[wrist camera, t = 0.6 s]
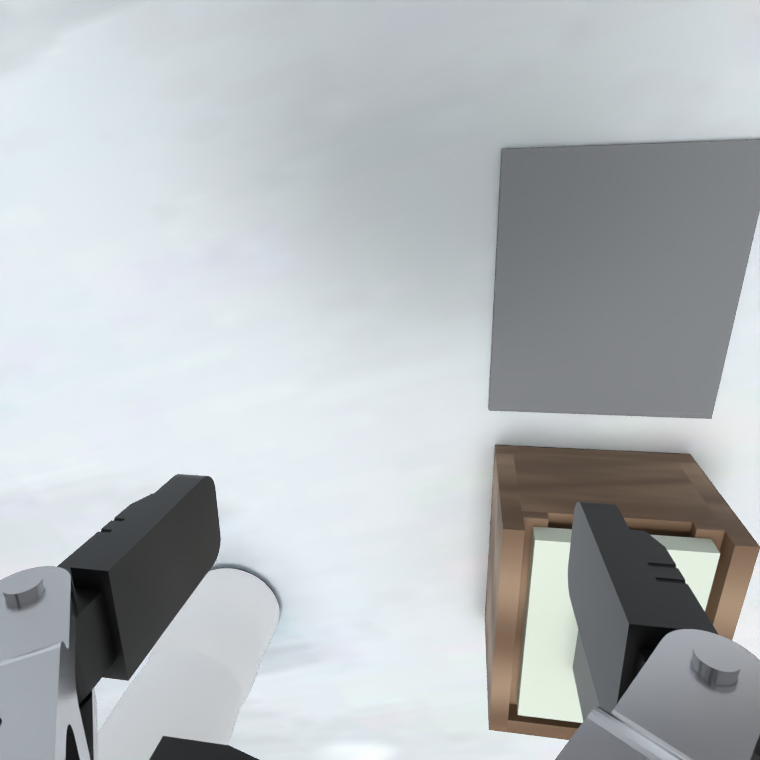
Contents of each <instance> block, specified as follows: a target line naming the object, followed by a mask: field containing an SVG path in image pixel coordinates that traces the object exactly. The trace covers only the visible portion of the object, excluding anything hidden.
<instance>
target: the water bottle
mask: <svg viewBox="0 0 760 760" xmlns="http://www.w3.org/2000/svg"><path fill="white" fill-rule="evenodd" d="M279 617H280V610H279V605H278V602H277V599H276V597H275V595H274V594H273V592H272V591H271V589H270V588H269V587H268V586H267V585H266V584H265V583H264V582H263V581H261V580H260V579H259V578H257V577H256V576H254V575H252V574H250V573H248V572H245V571H242V570H238V569H232V568H221V569H215V570H211V571H209V572H208V573H207V574H206V575H205V577H204V578H203V580H202V581H201V582H200V584H199V585H198V586H197V588H196V589H195V590H194V592H193V593H192V595H191V596H190V597H189V599H188V600H187V601H186V603H185V604H184V605H183V607H182V608H181V610H180V611H179V612H178V614H177V615H176V616H175V618H174V619H173V620H172V622H171V623H170V625H169V626H168V627H167V629H166V630H165V631H164V633H163V634H162V635H161V637H160V638H159V639H158V641H157V642H156V644H155V645H154V647H153V649H152V651H151V653H150V656H149V658H148V661H147V663H146V665H145V666H144V667H143V668H142V670H141V671H140V672H139V673H138V675H137V676H136V677H135V679H134V680H133V681H132V683H131V684H130V686H129V687H128V688H127V690H126V691H125V693H124V694H123V696H122V697H121V698H120V700H119V701H118V703H117V704H116V706H115V707H114V709H113V710H112V712H111V713H110V715H109V716H108V718H107V719H106V721H105V722H104V724H103V725H102V727H101V729H100V730H99V732H98V733H97V735H98V760H149V759H150V757H151V756H152V754H153V752H154V751H155V749H156V747H157V745H158V744H159V742H160V740H161V739H162V737H163V736H168V737H175V738H182V739H189V740H196V741H202V742H209V743H216V744H223V745H228V743H229V740H230V737H231V734H232V732H233V729H234V726H235V723H236V719H237V716H238V713H239V709H240V707H241V706H242V704H243V703H244V701H245V700H246V698H247V696H248V694H249V692H250V690H251V688H252V686H253V683H254V681H255V678H256V676H257V673H258V669H259V666H260V661H261V658H262V657H263V655H264V653H265V652H266V650H267V648H268V646H269V644H270V642H271V640H272V638H273V635H274V633H275V631H276V628H277V625H278V622H279Z"/></svg>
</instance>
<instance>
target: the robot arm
mask: <svg viewBox="0 0 760 760" xmlns="http://www.w3.org/2000/svg"><path fill="white" fill-rule="evenodd" d="M219 548H220V528H219V519H218V509H217V500H216V491H215V485H214V481H213V479H212V478H211V477H209V476H198V475H183V474H177V475H175V476H174V477H173V478H171V479H170V480H169V481H168V482H167V483H166V484H165V485H163V486H162V487H161V488H160V489H159V490H158V491H157V492H155V493H154V494H151V495H149V496H147V497H145V498H143V499H141V500H139V501H137V502H135V503H133V504H131V505H129V506H128V507H127V508H126V509H125V510H123V511H122V512H121V513H120V514H119V515H117V516H116V517H115V519H114V521H110V522H109V523H108V524H107V525H106V526H104V527H103V528H102V530H101V532H97V533H96V534H95V535H94V536H93V537H91V538H90V539H89V540H88V541H87V542H86V543H84V544H83V545H82V546H81V547H80V548H78V549H77V550H76V551H75V552H74V553H73V554H71V555H70V556H69V557H68V558H67V559H65V560H64V561H63V562H62V563H61V564H60V565H58V566H57V567H55V566H43V567H36V568H31V569H27V570H24V571H20V572H18V573H15V574H12V575H10V576H8V577H6V578H4V579H2V580H0V760H98V735H97V703H96V696H95V691H94V687H95V685H96V684H97V683H98V682H99V680H100V679H101V678H102V677H105V678H113V679H120V680H129V679H130V678H131V676H132V675H133V674H134V672H135V671H136V669H137V668H138V667H139V665H140V664H141V663H142V661H143V660H144V659H145V657H146V656H147V654H148V653H149V652H150V650H151V649H152V648H153V646H154V645H155V644H156V642H157V641H158V639H159V638H160V637H161V635H162V634H163V633H164V631H165V630H166V629H167V627H168V626H169V625H170V623H171V622H172V620H173V619H174V618H175V616H176V615H177V614H178V612H179V611H180V610H181V608H182V607H183V605H184V604H185V603H186V601H187V600H188V599H189V597H190V596H191V595H192V593H193V592H194V590H195V589H196V588H197V586H198V585H199V584H200V582H201V581H202V580H203V578H204V577H205V575H206V574H207V573H208V571H209V570H210V569H211V567H212V566H213V564H214V563H215V561H216V559H217V556H218V553H219ZM568 589H569V596H570V600H571V604H572V608H573V611H574V615H575V619H576V622H577V626H578V629H579V633H580V637H581V640H582V644H583V648H584V651H585V655H586V659H587V662H588V666H589V669H590V673H591V677H592V680H593V684H594V688H595V691H596V695H597V699H598V702H599V707H596V708H595V709H593V710H592V711H591V712H590V713H589V715H588V716H587V717H586V719H585V720H584V721H583V723H582V724H581V725H580V727H579V728H578V729H577V731H576V732H575V733H574V735H573V736H572V738H571V739H570V740H569V742H568V743H567V744H566V746H565V747H564V748H563V750H562V751H561V752H560V754H559V755H558V757H557V758H556V759H555V760H760V660H759V659H758V658H757V657H756V656H755V655H753V654H752V653H751V652H749V651H748V650H747V649H745V648H744V647H742V646H741V645H739V644H737V643H735V642H733V641H731V640H730V639H727V638H725V637H723V636H720V635H719V634H718V633H717V631H716V629H715V628H714V626H713V625H712V623H711V621H710V620H709V618H708V616H707V615H706V613H705V611H704V610H703V608H702V606H701V605H700V603H699V602H698V600H697V598H696V597H695V595H694V593H693V592H692V590H691V588H690V587H689V585H688V584H686V583H685V579H684V577H683V575H682V574H681V572H680V570H679V569H678V568H676V564H675V562H674V561H673V559H672V557H671V556H670V554H669V552H668V551H667V549H666V547H665V546H663V545H662V544H661V543H660V542H658V541H657V540H656V539H655V538H653V537H652V536H651V535H649V534H648V533H647V532H646V531H642V530H630V529H629V527H628V525H627V523H626V522H625V520H624V518H623V516H622V514H621V512H620V510H619V508H618V507H617V505H616V504H606V503H591V502H577V503H576V505H575V509H574V516H573V525H572V534H571V544H570V553H569V562H568ZM149 760H259V759H257V758H254V757H252V756H250V755H248V754H246V753H244V752H242V751H239V750H237V749H235V748H233V747H231V746H229V745H223V744H216V743H209V742H202V741H196V740H189V739H182V738H175V737H168V736H163V737H162V739H161V740H160V742H159V744H158V745H157V747H156V749H155V751H154V752H153V754H152V756H151V757H150V759H149Z"/></svg>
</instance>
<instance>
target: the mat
mask: <svg viewBox="0 0 760 760" xmlns="http://www.w3.org/2000/svg"><path fill="white" fill-rule="evenodd" d="M759 211H760V140H735V141H708V142H680V143H652V144H625V145H597V146H570V147H542V148H515V149H502V157H501V177H500V196H499V215H498V235H497V254H496V273H495V293H494V312H493V331H492V351H491V370H490V389H489V410H491V411H517V412H544V413H571V414H598V415H625V416H652V417H679V418H706V419H712V414H713V410H714V406H715V401H716V397H717V393H718V388H719V384H720V380H721V375H722V371H723V367H724V362H725V358H726V354H727V349H728V345H729V341H730V336H731V332H732V328H733V323H734V319H735V315H736V310H737V306H738V302H739V297H740V293H741V289H742V284H743V280H744V276H745V271H746V267H747V263H748V258H749V254H750V250H751V245H752V241H753V237H754V232H755V228H756V224H757V219H758V215H759Z"/></svg>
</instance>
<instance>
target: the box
mask: <svg viewBox="0 0 760 760" xmlns="http://www.w3.org/2000/svg"><path fill="white" fill-rule="evenodd" d="M577 502H591V503H606V504H616V505H617V507H618V508H619V510H620V512H621V514H622V516H623V518H624V520H625V522H626V523H627V525H628V527H629V529H630V530H642V531H646V532H647V533H648V534H649V535H662V536H677V537H691V538H706V539H711V540H712V541H713V543H714V544H715V546H716V547H717V549H718V551H719V552H720V557H719V561H718V564H717V568H716V572H715V576H714V579H713V583H712V587H711V591H710V594H709V598H708V602H707V606H706V609H705V613H706V615H707V616H708V618H709V620H710V621H711V623H712V625H713V626H714V628H715V629H716V631H717V633H718V634H719V635H720V636H723V637H725V638H727V639H730V640H731V641H732V639H733V635H734V632H735V629H736V625H737V622H738V619H739V615H740V612H741V609H742V605H743V602H744V599H745V596H746V592H747V589H748V586H749V582H750V579H751V576H752V572H753V569H754V566H755V562H756V559H757V556H758V552H759V549H760V546H759V545H758V544H757V542H756V541H755V540H754V538H753V537H752V536H751V534H750V533H749V532H748V530H747V529H746V528H745V526H744V525H743V524H742V522H741V521H740V520H739V518H738V517H737V516H736V514H735V513H734V512H733V511H732V509H731V508H730V507H729V505H728V504H727V503H726V501H725V500H724V499H723V497H722V496H721V495H720V493H719V492H718V491H717V489H716V488H715V487H714V485H713V484H712V483H711V481H710V480H709V479H708V477H707V476H706V475H705V473H704V472H703V471H702V469H701V468H700V467H699V465H698V464H697V463H696V461H695V460H694V459H693V457H692V456H691V455H690V454H675V453H654V452H633V451H611V450H590V449H569V448H547V447H526V446H505V445H495V454H494V471H493V488H492V505H491V522H490V539H489V556H488V573H487V591H486V608H485V636H486V664H487V691H488V718H489V730H495V731H503V732H511V733H518V734H526V735H534V736H542V737H550V738H558V739H566V740H570V739H571V738H572V736H573V735H574V733H575V732H576V731H577V729H578V728H579V727H580V725H581V724H582V723H579V722H571V721H562V720H554V719H546V718H538V717H530V716H521V715H518V712H517V701H516V696H517V685H518V675H519V664H520V654H521V644H522V633H523V623H524V612H525V602H526V591H527V581H528V570H529V560H530V550H531V539H532V529H533V527H546V528H561V529H572V525H573V516H574V509H575V505H576V503H577Z"/></svg>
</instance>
